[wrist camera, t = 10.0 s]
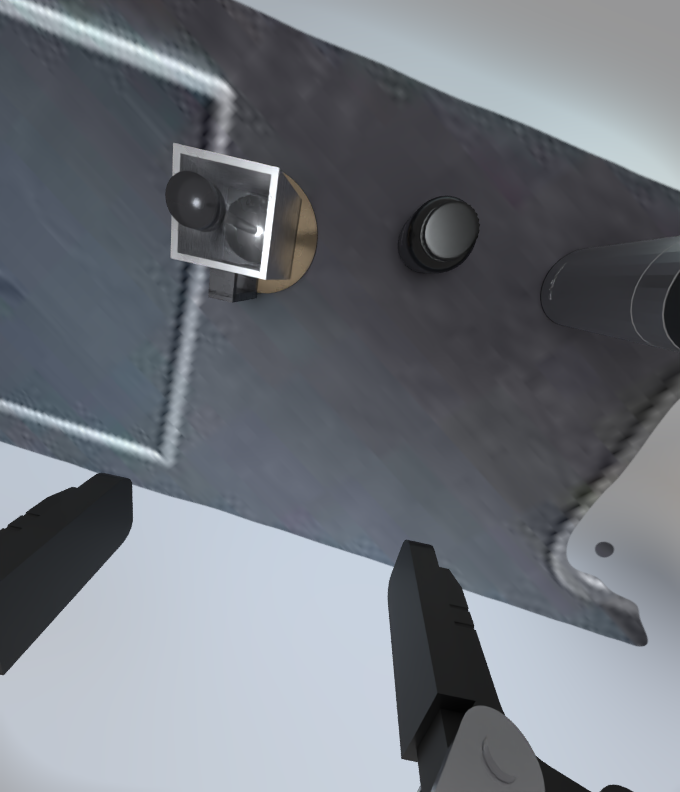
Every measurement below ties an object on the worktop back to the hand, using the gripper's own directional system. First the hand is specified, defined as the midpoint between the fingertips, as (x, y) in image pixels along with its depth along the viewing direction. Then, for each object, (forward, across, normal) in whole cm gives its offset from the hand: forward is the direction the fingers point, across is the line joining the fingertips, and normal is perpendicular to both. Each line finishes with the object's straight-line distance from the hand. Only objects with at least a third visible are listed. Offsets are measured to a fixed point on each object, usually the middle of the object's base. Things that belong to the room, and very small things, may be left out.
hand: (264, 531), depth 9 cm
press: (+36, +12, -10) cm, 39 cm away
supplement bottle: (+36, -8, -13) cm, 39 cm away
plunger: (+34, +12, -10) cm, 37 cm away
